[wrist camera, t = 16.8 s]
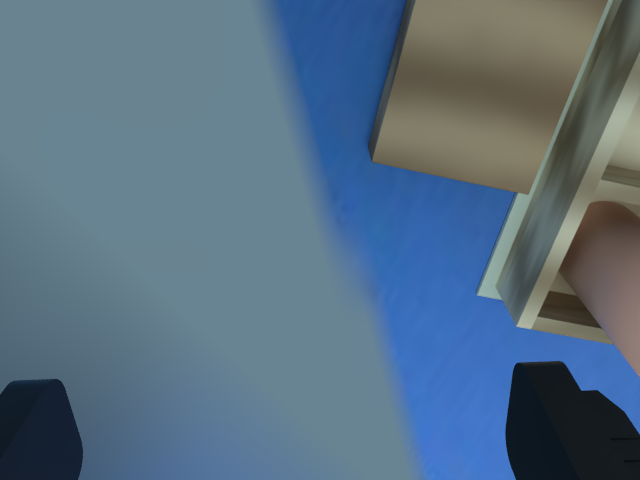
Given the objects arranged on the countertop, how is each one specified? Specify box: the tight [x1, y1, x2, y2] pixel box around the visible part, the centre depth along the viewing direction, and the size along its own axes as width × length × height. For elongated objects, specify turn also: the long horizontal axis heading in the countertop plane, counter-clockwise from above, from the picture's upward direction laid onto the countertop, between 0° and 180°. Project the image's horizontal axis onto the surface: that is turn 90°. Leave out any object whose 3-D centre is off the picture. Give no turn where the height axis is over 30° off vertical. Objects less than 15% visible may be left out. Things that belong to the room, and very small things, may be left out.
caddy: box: [495, 0, 640, 345], centre depth 35 cm, size 20×10×5 cm, turn 168°
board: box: [368, 0, 608, 195], centre depth 34 cm, size 12×10×3 cm
